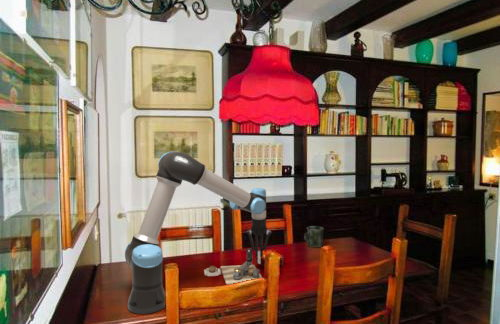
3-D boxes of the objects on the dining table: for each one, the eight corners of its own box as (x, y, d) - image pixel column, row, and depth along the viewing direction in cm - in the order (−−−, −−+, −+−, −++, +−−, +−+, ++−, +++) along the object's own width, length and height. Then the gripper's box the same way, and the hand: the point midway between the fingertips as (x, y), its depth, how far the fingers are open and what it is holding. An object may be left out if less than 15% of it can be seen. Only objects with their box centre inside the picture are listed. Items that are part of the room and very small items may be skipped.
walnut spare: (216, 274, 174) (216, 266, 173) (209, 274, 173) (209, 267, 173) (215, 271, 177) (215, 264, 177) (208, 271, 176) (208, 264, 176)
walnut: (256, 276, 169) (256, 268, 170) (250, 276, 168) (250, 268, 169) (252, 275, 172) (252, 268, 173) (246, 275, 171) (246, 267, 172)
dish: (221, 277, 172) (221, 273, 172) (204, 278, 170) (204, 274, 170) (219, 271, 180) (219, 267, 180) (203, 272, 178) (203, 268, 178)
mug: (327, 246, 228) (327, 228, 227) (310, 250, 220) (310, 231, 219) (315, 242, 237) (316, 225, 236) (299, 245, 229) (299, 227, 229)
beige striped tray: (264, 283, 164) (264, 273, 164) (226, 286, 161) (226, 275, 161) (253, 267, 187) (253, 258, 187) (220, 269, 183) (220, 259, 183)
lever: (241, 280, 164) (241, 260, 163) (232, 279, 165) (232, 259, 165) (255, 267, 182) (255, 249, 181) (247, 266, 183) (247, 248, 183)
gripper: (271, 216, 183) (271, 260, 185) (247, 216, 184) (247, 260, 186) (271, 219, 176) (271, 265, 177) (245, 219, 177) (246, 265, 178)
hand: (259, 262), depth 181 cm, fingers closed
